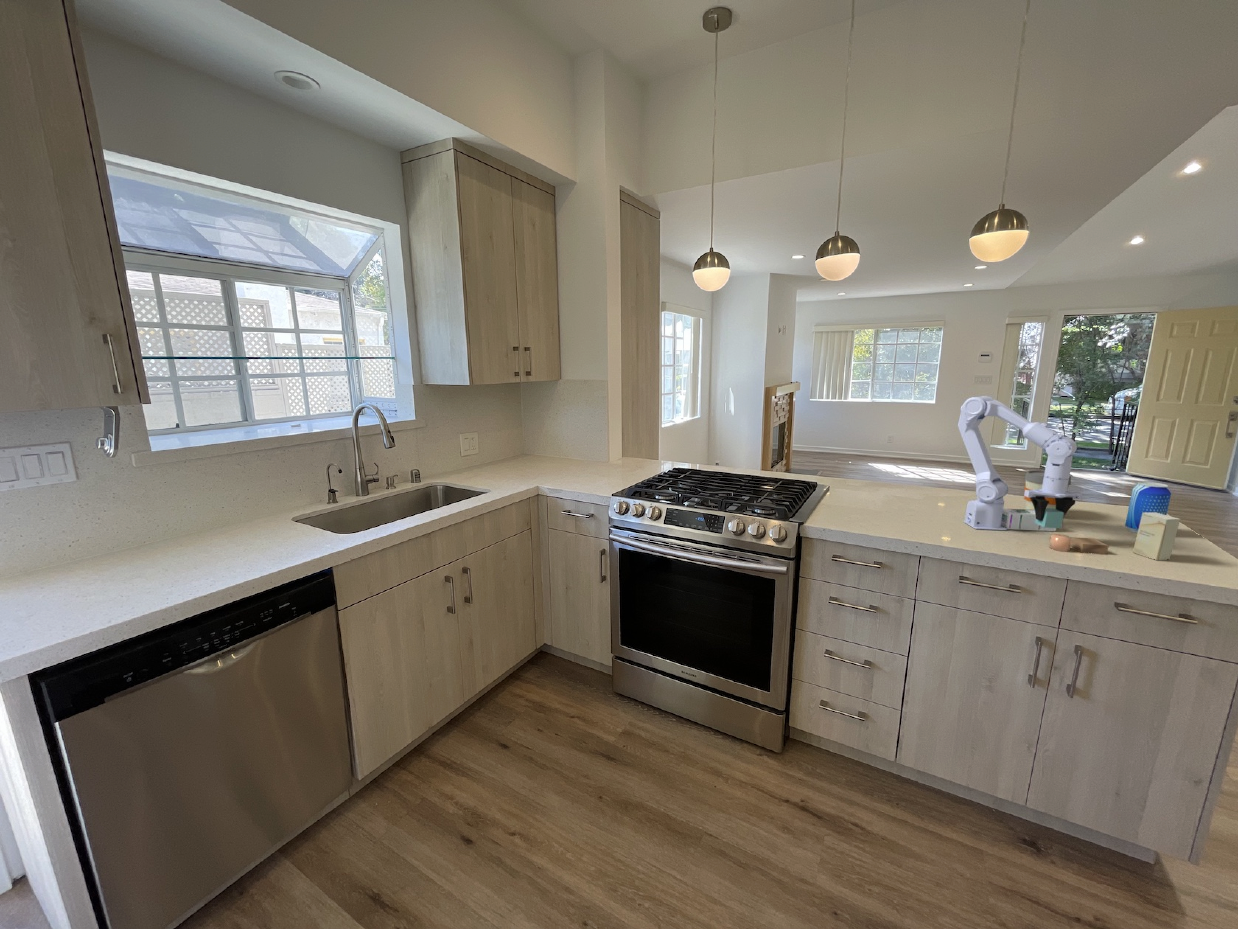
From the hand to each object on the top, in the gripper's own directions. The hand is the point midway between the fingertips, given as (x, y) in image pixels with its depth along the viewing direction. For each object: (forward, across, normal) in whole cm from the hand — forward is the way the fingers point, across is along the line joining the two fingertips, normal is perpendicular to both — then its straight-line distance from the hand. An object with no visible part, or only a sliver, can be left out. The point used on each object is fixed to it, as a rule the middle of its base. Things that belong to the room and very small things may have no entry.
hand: (1048, 520), depth 151 cm
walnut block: (+6, +6, -8) cm, 12 cm away
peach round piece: (+6, -1, -9) cm, 11 cm away
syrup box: (+3, +8, +11) cm, 14 cm away
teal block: (+2, 0, 0) cm, 2 cm away
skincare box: (+6, +20, -11) cm, 24 cm away
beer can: (+6, +35, +12) cm, 38 cm away
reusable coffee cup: (+6, +16, +29) cm, 34 cm away
